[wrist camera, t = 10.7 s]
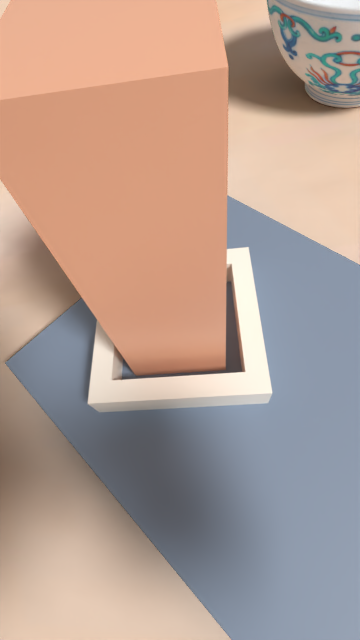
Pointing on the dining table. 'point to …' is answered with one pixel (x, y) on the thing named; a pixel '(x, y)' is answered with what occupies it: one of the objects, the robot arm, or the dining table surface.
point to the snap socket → (193, 389)
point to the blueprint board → (240, 446)
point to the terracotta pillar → (125, 164)
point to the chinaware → (321, 46)
